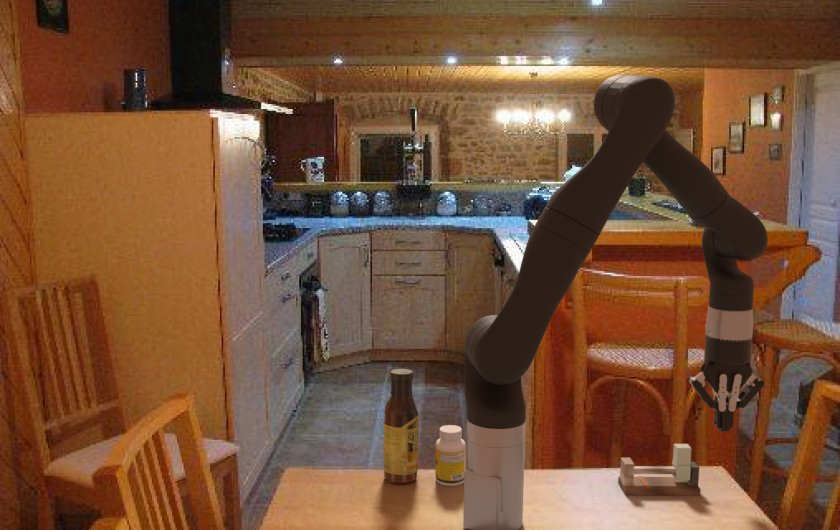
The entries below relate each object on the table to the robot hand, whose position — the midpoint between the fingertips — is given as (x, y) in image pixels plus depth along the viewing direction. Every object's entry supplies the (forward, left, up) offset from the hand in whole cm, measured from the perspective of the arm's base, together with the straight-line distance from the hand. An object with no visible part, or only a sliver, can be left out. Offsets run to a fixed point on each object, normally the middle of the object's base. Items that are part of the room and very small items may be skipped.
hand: (723, 430), depth 142 cm
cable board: (-6, +9, -11) cm, 15 cm away
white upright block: (-4, +6, -9) cm, 11 cm away
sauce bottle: (-27, +49, -11) cm, 57 cm away
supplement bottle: (-23, +41, -11) cm, 49 cm away
